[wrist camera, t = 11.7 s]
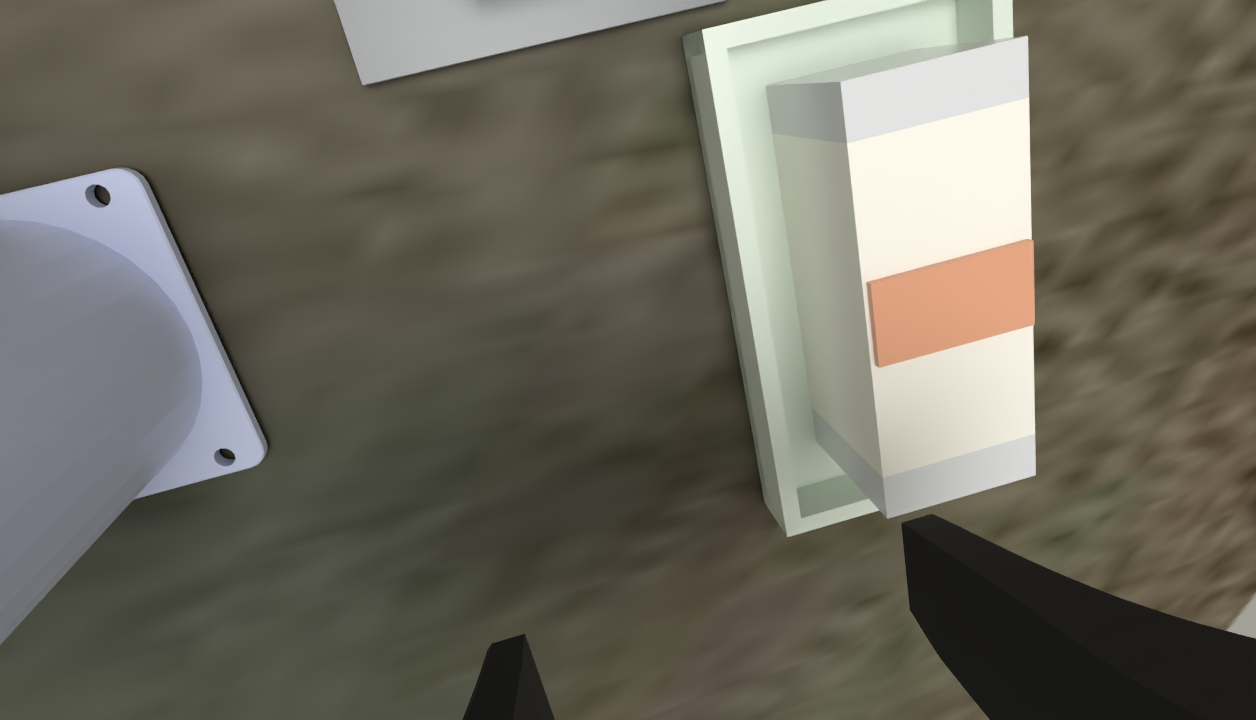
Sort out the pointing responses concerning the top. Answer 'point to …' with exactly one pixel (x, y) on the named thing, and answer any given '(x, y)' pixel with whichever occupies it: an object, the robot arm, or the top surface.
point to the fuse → (914, 266)
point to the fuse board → (476, 28)
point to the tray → (754, 218)
